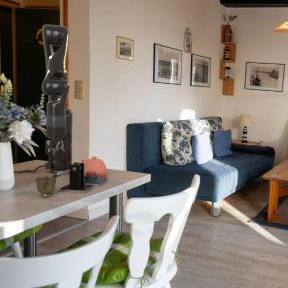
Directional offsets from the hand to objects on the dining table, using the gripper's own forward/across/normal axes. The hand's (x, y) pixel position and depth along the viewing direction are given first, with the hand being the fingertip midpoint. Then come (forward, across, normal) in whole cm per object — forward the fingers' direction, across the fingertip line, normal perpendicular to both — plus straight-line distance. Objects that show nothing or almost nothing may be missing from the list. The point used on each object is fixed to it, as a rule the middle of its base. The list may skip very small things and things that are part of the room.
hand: (56, 161), depth 165 cm
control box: (+12, -13, +10) cm, 20 cm away
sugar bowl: (+12, -26, +6) cm, 29 cm away
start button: (+8, -13, +10) cm, 18 cm away
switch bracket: (+12, 0, +9) cm, 15 cm away
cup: (+12, +13, +2) cm, 18 cm away
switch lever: (+5, 0, +5) cm, 7 cm away
